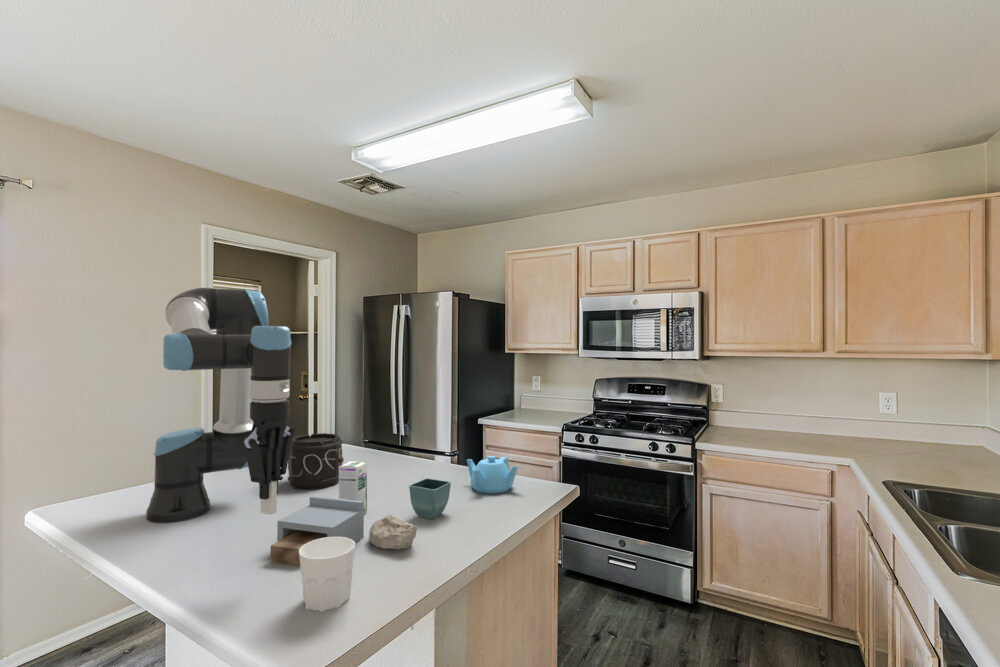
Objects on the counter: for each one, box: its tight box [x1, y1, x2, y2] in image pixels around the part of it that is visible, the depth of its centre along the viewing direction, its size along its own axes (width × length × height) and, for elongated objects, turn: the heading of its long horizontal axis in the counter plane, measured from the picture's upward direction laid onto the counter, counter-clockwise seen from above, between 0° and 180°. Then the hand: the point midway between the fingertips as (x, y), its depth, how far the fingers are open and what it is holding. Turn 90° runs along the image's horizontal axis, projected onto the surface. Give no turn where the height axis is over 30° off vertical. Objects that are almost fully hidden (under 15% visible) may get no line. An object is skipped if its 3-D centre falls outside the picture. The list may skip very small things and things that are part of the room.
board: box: [270, 530, 327, 567], centre depth 114 cm, size 8×14×4 cm, turn 166°
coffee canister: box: [286, 432, 345, 491], centre depth 169 cm, size 18×18×16 cm
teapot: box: [466, 455, 519, 495], centre depth 163 cm, size 15×15×11 cm
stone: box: [368, 514, 418, 550], centre depth 117 cm, size 8×12×10 cm, turn 52°
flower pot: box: [408, 477, 452, 520], centre depth 138 cm, size 9×9×9 cm
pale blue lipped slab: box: [276, 495, 365, 544], centre depth 118 cm, size 15×13×9 cm
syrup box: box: [338, 460, 368, 515], centre depth 138 cm, size 6×6×14 cm
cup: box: [299, 537, 356, 613], centre depth 93 cm, size 10×10×10 cm
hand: (268, 512), depth 102 cm, fingers closed
